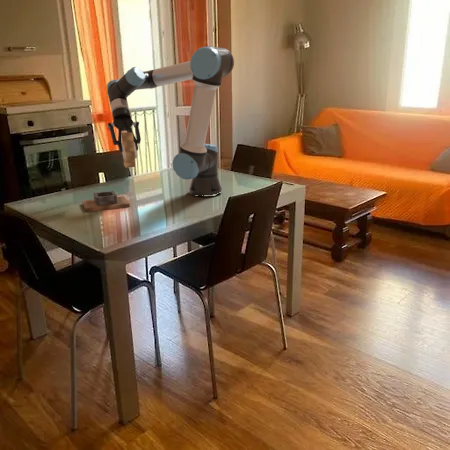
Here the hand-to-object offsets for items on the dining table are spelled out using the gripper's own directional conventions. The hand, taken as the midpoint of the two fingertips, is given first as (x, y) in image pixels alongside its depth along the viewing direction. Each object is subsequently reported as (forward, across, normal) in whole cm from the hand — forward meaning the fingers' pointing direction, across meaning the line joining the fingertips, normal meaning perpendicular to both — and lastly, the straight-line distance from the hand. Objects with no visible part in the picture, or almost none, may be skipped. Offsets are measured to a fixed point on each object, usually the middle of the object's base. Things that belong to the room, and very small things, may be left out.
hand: (130, 157), depth 190 cm
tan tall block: (+1, 0, -6) cm, 6 cm away
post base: (+13, +11, -16) cm, 24 cm away
